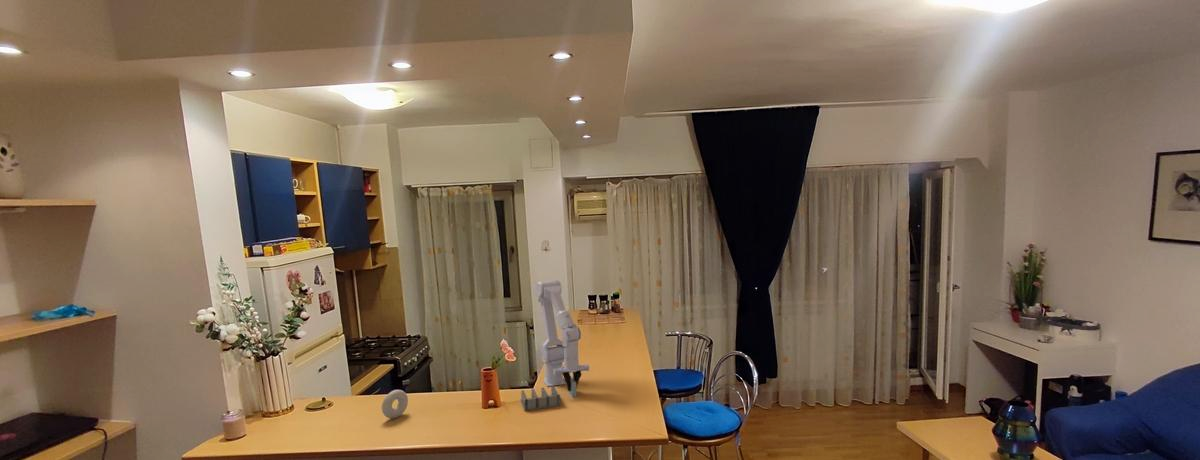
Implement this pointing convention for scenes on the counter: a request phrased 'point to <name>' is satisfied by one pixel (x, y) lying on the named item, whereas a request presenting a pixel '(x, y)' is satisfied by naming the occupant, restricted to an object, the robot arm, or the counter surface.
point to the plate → (572, 387)
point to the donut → (388, 402)
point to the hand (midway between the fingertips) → (572, 389)
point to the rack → (540, 400)
